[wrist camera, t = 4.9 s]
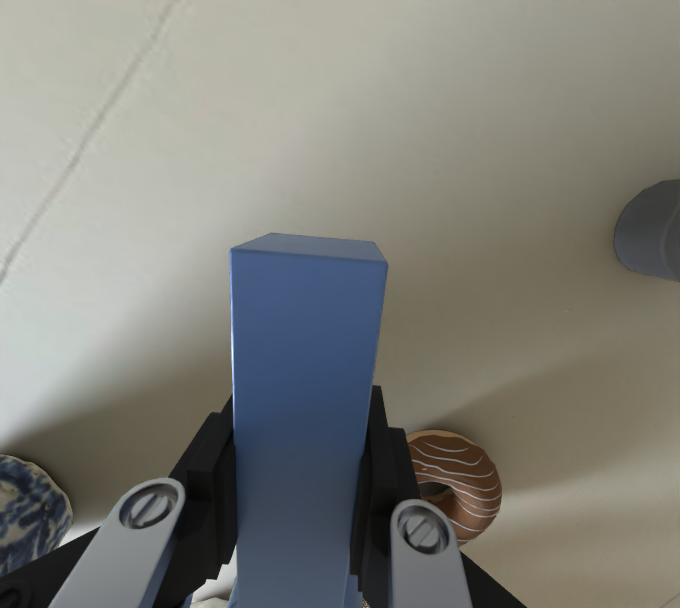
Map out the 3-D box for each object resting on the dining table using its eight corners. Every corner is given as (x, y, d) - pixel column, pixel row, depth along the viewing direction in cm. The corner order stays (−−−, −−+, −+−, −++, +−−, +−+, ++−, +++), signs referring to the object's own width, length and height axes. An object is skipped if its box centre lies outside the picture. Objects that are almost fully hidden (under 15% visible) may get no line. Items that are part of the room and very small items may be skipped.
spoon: (229, 228, 9) (168, 242, 6) (414, 244, 9) (449, 267, 6) (239, 615, 14) (208, 729, 11) (355, 625, 14) (357, 742, 11)
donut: (425, 534, 30) (436, 583, 26) (341, 474, 28) (340, 517, 24) (515, 467, 27) (543, 510, 23) (429, 396, 25) (445, 430, 21)
